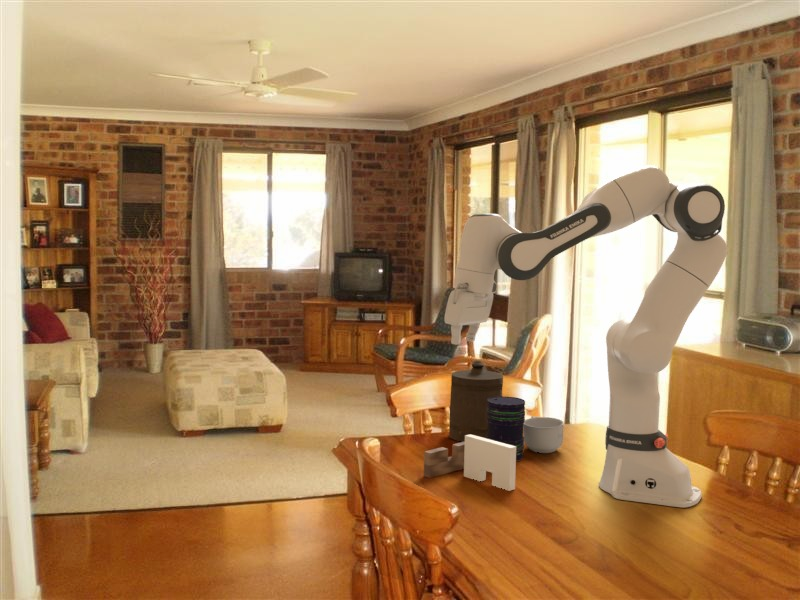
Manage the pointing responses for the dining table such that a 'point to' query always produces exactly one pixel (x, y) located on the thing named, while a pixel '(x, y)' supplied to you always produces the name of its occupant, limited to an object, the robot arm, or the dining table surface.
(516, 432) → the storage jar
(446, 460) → the grey notched block
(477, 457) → the white arch block
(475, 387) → the wooden container
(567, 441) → the dining table surface
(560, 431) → the teacup
